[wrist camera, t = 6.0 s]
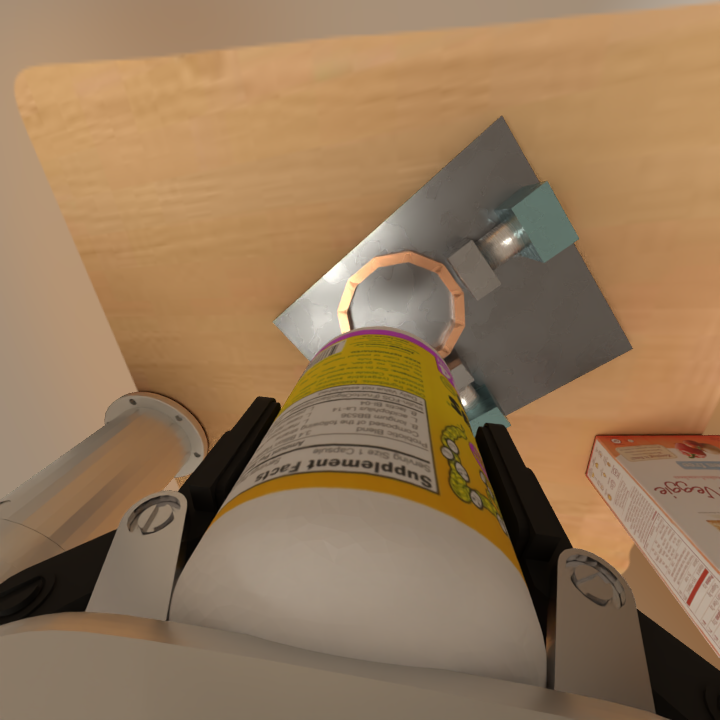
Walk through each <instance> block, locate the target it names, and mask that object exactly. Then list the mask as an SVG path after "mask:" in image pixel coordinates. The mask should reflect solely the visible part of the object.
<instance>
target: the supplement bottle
mask: <svg viewBox="0 0 720 720" xmlns="http://www.w3.org/2000/svg"><path fill="white" fill-rule="evenodd" d="M168 621H170V622H176V623H183V624H189V625H195V626H201V627H207V628H213V629H218V630H224V631H230V632H236V633H242V634H248V635H252V636H255V637H259V638H262V639H266V640H269V641H273V642H277V643H281V644H285V645H289V646H293V647H297V648H301V649H306V650H310V651H315V652H320V653H324V654H330V655H336V656H342V657H347V658H353V659H359V660H366V661H372V662H379V663H387V664H395V665H403V666H412V667H424V668H434V669H445V670H451V671H456V672H461V673H467V674H472V675H478V676H483V677H489V678H494V679H500V680H505V681H511V682H516V683H521V684H527V685H532V686H537V687H542V688H546V687H547V656H546V649H545V644H544V639H543V634H542V630H541V627H540V624H539V621H538V618H537V615H536V612H535V608H534V605H533V602H532V599H531V596H530V593H529V590H528V587H527V585H526V582H525V579H524V576H523V573H522V571H521V568H520V565H519V562H518V560H517V557H516V554H515V552H514V549H513V546H512V543H511V540H510V537H509V534H508V532H507V529H506V526H505V523H504V520H503V518H502V515H501V512H500V509H499V506H498V503H497V500H496V497H495V494H494V492H493V489H492V487H491V484H490V482H489V479H488V476H487V473H486V470H485V467H484V463H483V460H482V457H481V455H480V452H479V449H478V447H477V444H476V441H475V438H474V436H473V432H472V429H471V426H470V423H469V420H468V417H467V415H466V412H465V409H464V406H463V403H462V401H461V398H460V395H459V392H458V389H457V387H456V384H455V381H454V379H453V377H452V374H451V372H450V370H449V368H448V366H447V364H446V363H445V361H444V360H443V358H442V357H441V356H440V354H439V353H438V352H437V351H436V350H435V349H434V348H433V347H432V346H431V345H429V344H428V343H427V342H425V341H424V340H422V339H421V338H419V337H417V336H416V335H414V334H411V333H409V332H406V331H404V330H401V329H397V328H393V327H386V326H372V327H363V328H357V329H354V330H350V331H348V332H345V333H343V334H340V335H339V336H337V337H335V338H333V339H332V340H330V341H329V342H328V343H327V344H325V345H324V346H323V347H322V348H321V349H320V350H319V351H318V352H317V354H316V355H315V356H314V358H313V359H312V361H311V362H310V363H309V365H308V366H307V368H306V370H305V371H304V373H303V374H302V376H301V378H300V379H299V381H298V383H297V384H296V386H295V388H294V389H293V391H292V392H291V394H290V396H289V397H288V399H287V401H286V402H285V404H284V406H283V407H282V409H281V411H280V412H279V414H278V415H277V417H276V418H275V420H274V422H273V424H272V425H271V427H270V429H269V430H268V432H267V434H266V435H265V437H264V438H263V440H262V442H261V444H260V445H259V447H258V448H257V450H256V452H255V453H254V455H253V456H252V458H251V460H250V461H249V463H248V465H247V466H246V468H245V469H244V471H243V473H242V474H241V476H240V477H239V479H238V481H237V482H236V484H235V485H234V487H233V489H232V490H231V492H230V493H229V495H228V497H227V498H226V500H225V502H224V503H223V505H222V506H221V508H220V509H219V511H218V513H217V514H216V516H215V518H214V519H213V521H212V522H211V524H210V525H209V527H208V528H207V530H206V532H205V534H204V535H203V537H202V539H201V540H200V542H199V544H198V545H197V547H196V549H195V550H194V552H193V554H192V555H191V557H190V559H189V560H188V562H187V563H186V565H185V567H184V569H183V571H182V573H181V575H180V577H179V579H178V581H177V584H176V586H175V589H174V592H173V596H172V599H171V603H170V609H169V617H168Z"/></svg>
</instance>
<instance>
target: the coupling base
mask: <svg viewBox="0 0 720 720" xmlns="http://www.w3.org/2000/svg"><path fill="white" fill-rule="evenodd" d="M577 240H579V237H578V236H577V234H576V232H575V230H574V228H573V227H572V225H571V223H570V221H569V219H568V218H567V216H566V214H565V212H564V210H563V209H562V207H561V205H560V203H559V201H558V200H557V198H556V196H555V194H554V192H553V190H552V189H551V187H550V185H549V183H548V181H544V182H539V181H538V179H537V177H536V175H535V174H534V172H533V170H532V168H531V166H530V165H529V163H528V161H527V159H526V158H525V156H524V154H523V152H522V150H521V149H520V147H519V145H518V143H517V142H516V140H515V138H514V136H513V134H512V133H511V131H510V129H509V127H508V126H507V124H506V122H505V120H504V118H503V117H502V116H501V117H500V118H499V119H497V120H496V121H495V122H494V123H493V124H492V125H491V126H490V127H489V128H487V129H486V130H485V131H484V132H483V133H482V134H481V135H480V136H479V137H477V138H476V139H475V140H474V141H473V142H472V143H471V144H470V145H469V146H467V147H466V148H465V149H464V150H463V151H462V152H461V153H460V154H459V155H457V156H456V157H455V158H454V159H453V160H452V161H451V162H450V163H449V164H447V165H446V166H445V167H444V168H443V169H442V170H441V171H440V172H439V173H437V174H436V175H435V176H434V177H433V178H432V179H431V180H430V181H429V182H427V183H426V184H425V185H424V186H423V187H422V188H421V189H420V190H419V191H417V192H416V193H415V194H414V195H413V196H412V197H411V198H410V199H409V200H407V201H406V202H405V203H404V204H403V205H402V206H401V207H400V208H399V209H397V210H396V211H395V212H394V213H393V214H392V215H391V216H390V217H389V218H387V219H386V220H385V221H384V222H383V223H382V224H381V225H380V226H379V227H377V228H376V229H375V230H374V231H373V232H372V233H371V234H370V235H369V236H367V237H366V238H365V239H364V240H363V241H362V242H361V243H360V244H359V245H357V246H356V247H355V248H354V249H353V250H352V251H351V252H350V253H349V254H347V255H346V256H345V257H344V258H343V259H342V260H341V261H340V262H339V263H337V264H336V265H335V266H334V267H333V268H332V269H331V270H330V271H329V272H327V273H326V274H325V275H324V276H323V277H322V278H321V279H320V280H319V281H317V282H316V283H315V284H314V285H313V286H312V287H311V288H310V289H309V290H307V291H306V292H305V293H304V294H303V295H302V296H301V297H300V298H299V299H297V300H296V301H295V302H294V303H293V304H292V305H291V306H290V307H289V308H287V309H286V310H285V311H284V312H283V313H282V314H281V315H280V316H279V317H277V318H276V319H275V320H274V321H273V323H274V324H275V325H276V326H277V327H278V328H279V329H280V330H281V331H282V332H283V334H284V335H285V336H286V337H287V338H288V339H289V340H290V341H291V342H292V343H293V344H294V345H295V346H296V347H297V348H298V349H299V350H300V351H301V353H302V354H303V355H304V356H305V357H306V358H307V359H308V360H309V361H310V362H311V361H312V359H313V358H314V356H315V355H316V354H317V352H318V351H319V350H320V349H321V348H322V347H323V346H324V345H325V344H327V343H328V342H329V341H330V340H332V339H333V338H335V337H337V336H339V335H340V334H343V333H345V332H348V331H350V330H354V329H357V328H363V327H372V326H386V327H393V328H397V329H401V330H404V331H406V332H409V333H411V334H414V335H416V336H417V337H419V338H421V339H422V340H424V341H425V342H427V343H428V344H429V345H431V346H432V347H433V348H434V349H435V350H436V351H437V352H438V353H439V354H440V356H441V357H442V358H443V360H444V361H445V363H446V364H447V366H448V368H449V370H450V372H451V374H452V377H453V379H454V381H455V384H456V387H457V389H458V392H459V395H460V398H461V401H462V403H463V406H464V409H465V412H466V415H467V417H468V420H469V423H470V426H471V429H472V432H473V436H474V438H475V436H476V432H477V429H478V427H479V426H482V427H483V426H484V424H485V423H494V424H503V425H504V426H505V427H506V428H507V427H509V426H511V424H510V423H509V421H508V419H507V417H506V415H508V414H510V413H512V412H514V411H516V410H517V409H519V408H521V407H523V406H525V405H527V404H529V403H531V402H533V401H535V400H536V399H538V398H540V397H542V396H544V395H546V394H548V393H550V392H552V391H554V390H555V389H557V388H559V387H561V386H563V385H565V384H567V383H569V382H571V381H573V380H574V379H576V378H578V377H580V376H582V375H584V374H586V373H588V372H590V371H592V370H593V369H595V368H597V367H599V366H601V365H603V364H605V363H607V362H609V361H611V360H612V359H614V358H616V357H618V356H620V355H622V354H624V353H626V352H628V351H630V350H631V349H633V348H632V346H631V345H630V343H629V341H628V339H627V337H626V336H625V334H624V332H623V330H622V328H621V327H620V325H619V323H618V321H617V320H616V318H615V316H614V314H613V312H612V311H611V309H610V307H609V305H608V304H607V302H606V300H605V298H604V296H603V295H602V293H601V291H600V289H599V288H598V286H597V284H596V282H595V280H594V279H593V277H592V275H591V273H590V272H589V270H588V268H587V266H586V264H585V263H584V261H583V259H582V257H581V255H580V254H579V252H578V250H577V248H576V247H575V245H574V242H576V241H577Z"/></svg>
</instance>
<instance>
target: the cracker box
mask: <svg viewBox="0 0 720 720" xmlns="http://www.w3.org/2000/svg"><path fill="white" fill-rule="evenodd" d="M586 477H587V478H588V479H589V481H590V482H591V484H592V485H593V487H594V488H595V489H596V491H597V492H598V493H599V495H600V496H601V497H602V499H603V500H604V501H605V503H606V504H607V506H608V507H609V508H610V510H611V511H612V512H613V514H614V515H615V516H616V518H617V519H618V521H619V522H620V523H621V525H622V526H623V527H624V529H625V530H626V531H627V533H628V534H629V536H630V537H631V538H632V540H633V541H634V542H635V544H636V545H637V547H638V548H639V549H640V551H641V552H642V553H643V555H644V556H645V557H646V559H647V560H648V561H649V563H650V564H651V565H652V567H653V568H654V570H655V571H656V572H657V574H658V575H659V576H660V578H661V579H662V580H663V582H664V583H665V585H666V586H667V587H668V589H669V590H670V591H671V593H672V594H673V595H674V597H675V598H676V600H677V601H678V602H679V603H680V605H681V606H682V607H683V609H684V610H685V612H686V613H687V614H688V616H689V617H690V618H691V620H692V621H693V623H694V624H695V625H696V627H697V628H698V629H699V631H700V632H701V634H702V635H703V636H704V637H705V639H706V640H707V641H708V643H709V644H710V646H711V647H712V648H713V650H714V651H715V653H716V654H717V655H718V656H719V658H720V435H677V436H676V435H667V436H665V435H657V436H596V438H595V441H594V445H593V449H592V453H591V457H590V460H589V465H588V468H587V472H586Z"/></svg>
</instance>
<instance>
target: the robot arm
mask: <svg viewBox="0 0 720 720" xmlns="http://www.w3.org/2000/svg"><path fill="white" fill-rule="evenodd" d="M280 411H281V405H280V403H276V400H275V399H274V398H269V397H260V396H259V397H257V398H256V399H255V401H254V402H253V403H252V404H251V406H250V407H249V408H248V410H247V411H246V412H245V413H244V415H243V416H242V417H241V419H240V420H239V421H238V422H237V424H236V425H235V426H234V427H233V429H232V430H231V431H227V432H226V433H225V434H224V435H223V436H222V437H221V438H220V440H219V441H218V442H217V443H216V445H215V446H214V447H213V448H212V450H211V451H210V452H209V453H208V455H207V450H208V444H207V438H206V436H205V433H204V431H203V429H202V427H201V425H200V424H199V422H198V421H197V420H196V419H195V417H194V416H193V415H192V414H191V413H190V412H189V411H188V410H186V409H185V408H184V407H182V406H181V405H180V404H178V403H177V402H175V401H173V400H171V399H169V398H167V397H164V396H161V395H158V394H154V393H149V392H134V393H129V394H126V395H124V396H122V397H120V398H119V399H117V400H116V401H115V402H113V403H112V404H111V405H110V406H109V408H108V410H107V412H106V415H105V426H103V427H102V428H101V429H99V430H98V431H96V432H95V433H94V434H92V435H91V436H89V437H88V438H86V439H85V440H84V441H82V442H81V443H79V444H78V445H77V446H75V447H74V448H72V449H71V450H70V451H68V452H67V453H65V454H64V455H63V456H61V457H60V458H58V459H57V460H55V461H54V462H53V463H51V464H50V465H48V466H47V467H46V468H44V469H43V470H41V471H40V472H39V473H37V474H36V475H35V476H33V477H32V478H30V479H29V480H27V481H26V482H25V483H23V484H22V485H20V486H19V487H17V488H16V489H15V490H13V491H12V492H11V493H9V494H8V495H6V496H5V497H3V498H2V499H1V500H0V720H720V671H719V670H718V669H717V668H715V667H714V666H713V665H711V664H710V663H709V662H707V661H706V660H705V659H703V658H702V657H701V656H699V655H698V654H696V653H695V652H694V651H693V650H691V649H690V648H689V647H687V646H686V645H684V644H683V643H682V642H680V641H679V640H678V639H676V638H675V637H674V636H672V635H671V634H670V633H668V632H667V631H666V630H664V629H663V628H662V627H660V626H659V625H658V624H656V623H655V622H654V621H652V620H651V619H650V618H648V617H647V616H646V615H644V614H643V613H641V612H640V611H639V610H638V609H637V608H636V603H635V599H634V596H633V593H632V590H631V588H630V587H629V585H628V584H627V582H626V581H625V579H624V578H623V577H622V576H621V575H620V574H619V572H618V571H617V570H616V569H615V568H614V567H612V566H611V565H610V564H609V563H607V562H606V561H605V560H604V559H602V558H600V557H598V556H597V555H595V554H593V553H591V552H588V551H585V550H582V549H576V548H573V547H572V545H571V543H570V541H569V539H568V537H567V535H566V533H565V532H564V530H563V528H562V526H561V524H560V522H559V520H558V518H557V516H556V515H555V513H554V511H553V509H552V507H551V505H550V503H549V501H548V499H547V497H546V496H545V494H544V492H543V490H542V488H541V486H540V484H539V482H538V480H537V478H536V477H535V475H534V473H533V472H532V470H531V469H529V468H526V466H525V464H524V462H523V461H522V459H521V457H520V455H519V453H518V451H517V449H516V447H515V445H514V443H513V441H512V439H511V437H510V435H509V433H508V431H507V429H506V427H505V426H504V425H503V424H494V423H485V424H484V426H483V427H482V426H479V427H478V429H477V432H476V436H475V441H476V444H477V447H478V449H479V452H480V455H481V457H482V460H483V463H484V467H485V470H486V473H487V476H488V479H489V482H490V484H491V487H492V489H493V492H494V494H495V497H496V500H497V503H498V506H499V509H500V512H501V515H502V518H503V520H504V523H505V526H506V529H507V532H508V534H509V537H510V540H511V543H512V546H513V549H514V552H515V554H516V557H517V560H518V562H519V565H520V568H521V571H522V573H523V576H524V579H525V582H526V585H527V587H528V590H529V593H530V596H531V599H532V602H533V605H534V608H535V612H536V615H537V618H538V621H539V624H540V627H541V630H542V634H543V639H544V644H545V649H546V656H547V687H546V688H542V687H537V686H532V685H527V684H521V683H516V682H511V681H505V680H500V679H494V678H489V677H483V676H478V675H472V674H467V673H461V672H456V671H451V670H445V669H434V668H424V667H412V666H403V665H395V664H387V663H379V662H372V661H366V660H359V659H353V658H347V657H342V656H336V655H330V654H324V653H320V652H315V651H310V650H306V649H301V648H297V647H293V646H289V645H285V644H281V643H277V642H273V641H269V640H266V639H262V638H259V637H255V636H252V635H248V634H242V633H236V632H230V631H224V630H218V629H213V628H207V627H201V626H195V625H189V624H183V623H176V622H170V621H168V617H169V609H170V603H171V599H172V596H173V592H174V589H175V586H176V584H177V581H178V579H179V577H180V575H181V573H182V571H183V569H184V567H185V565H186V563H187V562H188V560H189V559H190V557H191V555H192V554H193V552H194V550H195V549H196V547H197V545H198V544H199V542H200V540H201V539H202V537H203V535H204V534H205V532H206V530H207V528H208V527H209V525H210V524H211V522H212V521H213V519H214V518H215V516H216V514H217V513H218V511H219V509H220V508H221V506H222V505H223V503H224V502H225V500H226V498H227V497H228V495H229V493H230V492H231V490H232V489H233V487H234V485H235V484H236V482H237V481H238V479H239V477H240V476H241V474H242V473H243V471H244V469H245V468H246V466H247V465H248V463H249V461H250V460H251V458H252V456H253V455H254V453H255V452H256V450H257V448H258V447H259V445H260V444H261V442H262V440H263V438H264V437H265V435H266V434H267V432H268V430H269V429H270V427H271V425H272V424H273V422H274V420H275V418H276V417H277V415H278V414H279V412H280ZM206 455H207V456H206ZM191 473H192V474H191ZM189 474H191V476H190V477H189V478H188V479H187V481H186V482H185V483H184V484H183V486H182V487H181V488H180V489H179V491H178V492H177V491H171V490H169V491H163V489H164V488H165V487H166V486H167V485H168V484H169V482H170V481H171V480H172V479H173V478H176V477H183V476H187V475H189Z"/></svg>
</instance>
